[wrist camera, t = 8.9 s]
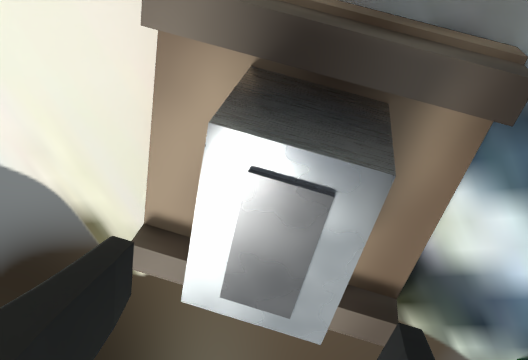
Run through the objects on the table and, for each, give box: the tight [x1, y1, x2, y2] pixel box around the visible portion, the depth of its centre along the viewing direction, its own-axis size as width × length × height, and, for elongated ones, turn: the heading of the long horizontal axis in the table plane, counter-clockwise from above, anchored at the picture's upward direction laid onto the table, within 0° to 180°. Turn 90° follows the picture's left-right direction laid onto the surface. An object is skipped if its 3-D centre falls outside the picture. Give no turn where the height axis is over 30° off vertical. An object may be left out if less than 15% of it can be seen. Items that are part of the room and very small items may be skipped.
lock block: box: [181, 66, 396, 345], centre depth 15 cm, size 5×7×5 cm
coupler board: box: [131, 0, 528, 347], centre depth 18 cm, size 12×13×3 cm
